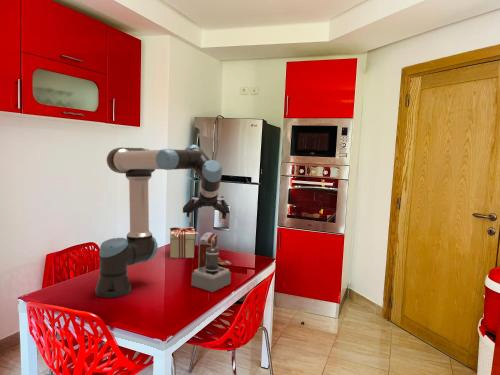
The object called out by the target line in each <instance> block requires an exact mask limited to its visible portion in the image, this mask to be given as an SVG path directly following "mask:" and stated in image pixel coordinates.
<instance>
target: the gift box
mask: <svg viewBox="0 0 500 375" xmlns="http://www.w3.org/2000/svg"><path fill="white" fill-rule="evenodd" d="M169 230H170V235H169V259H190V258H191V259H194V258H195V241H196V235H199V234H200V233H199V232H198V231H195V228H194V226H189V227H188V226H186V227H176V226H175V227H171V228H169Z"/></svg>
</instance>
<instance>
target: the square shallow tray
mask: <svg viewBox="0 0 500 375" xmlns="http://www.w3.org/2000/svg"><path fill="white" fill-rule="evenodd" d="M202 272H206V270H204V271H202ZM219 272H221V271H219V270H218V273H219ZM231 275H232V271H229V272H228V273H226V274H224V275H221V276H219V277H217V278H214V279H212V278H209V277H206V276H202V275H199V274H195V273H194V272H191V285H190V286H191V287H195V288H198V289H201V290H204V291H208V292H211V293H214V292H216V291H218V290H221V289H222V288H225V287H227V286H228V285H230V284H231V280H232V279H231V277H232V276H231ZM224 286H225V287H224Z"/></svg>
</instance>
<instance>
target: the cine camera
mask: <svg viewBox="0 0 500 375" xmlns="http://www.w3.org/2000/svg"><path fill="white" fill-rule="evenodd" d="M198 245H199V246H198V268H201V267H204V266H206V248H208V247H217V248H219V246H218V234H217V233H213V232H210V231H209V232H208V231H206V232H205V233H203V235H201V237H200V238H199V241H198ZM198 268H197V269H198Z"/></svg>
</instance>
